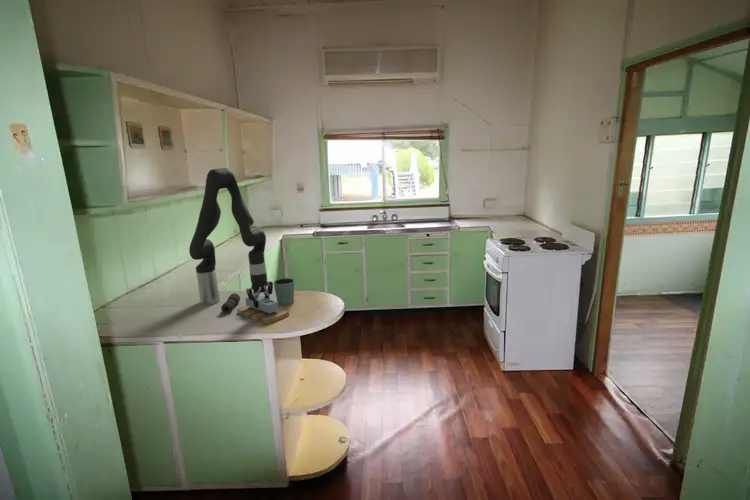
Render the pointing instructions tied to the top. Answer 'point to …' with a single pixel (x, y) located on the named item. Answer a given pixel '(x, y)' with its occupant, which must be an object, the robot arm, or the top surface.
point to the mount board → (263, 314)
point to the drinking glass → (284, 291)
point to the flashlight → (230, 303)
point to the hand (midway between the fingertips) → (261, 305)
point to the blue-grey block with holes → (264, 304)
